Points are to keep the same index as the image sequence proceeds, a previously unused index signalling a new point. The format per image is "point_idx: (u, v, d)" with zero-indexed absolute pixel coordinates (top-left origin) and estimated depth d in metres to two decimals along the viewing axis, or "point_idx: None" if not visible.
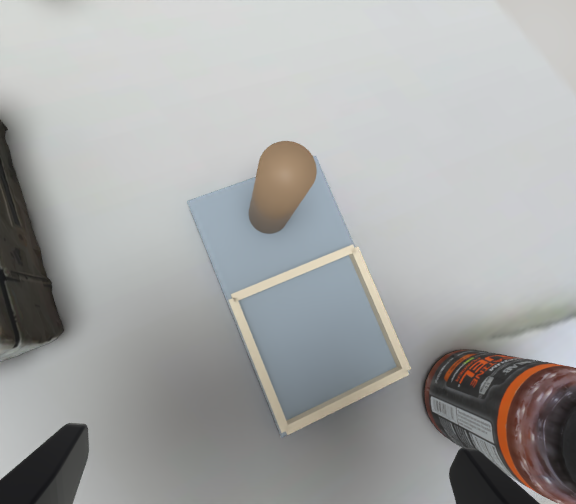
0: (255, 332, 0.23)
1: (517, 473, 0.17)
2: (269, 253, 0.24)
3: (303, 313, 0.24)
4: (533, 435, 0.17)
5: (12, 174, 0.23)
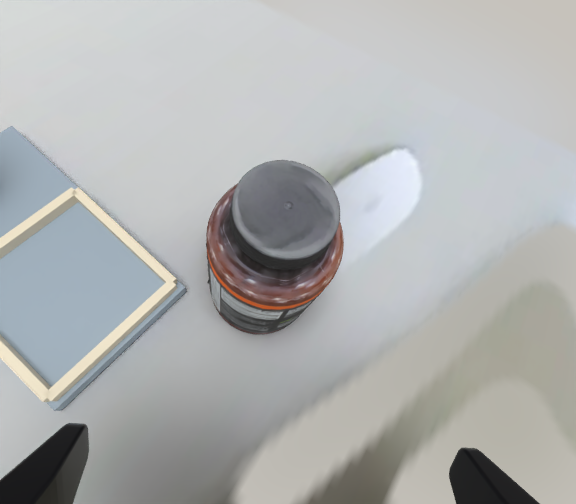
0: None
1: (240, 297, 0.16)
2: None
3: (42, 274, 0.22)
4: (221, 246, 0.15)
5: None
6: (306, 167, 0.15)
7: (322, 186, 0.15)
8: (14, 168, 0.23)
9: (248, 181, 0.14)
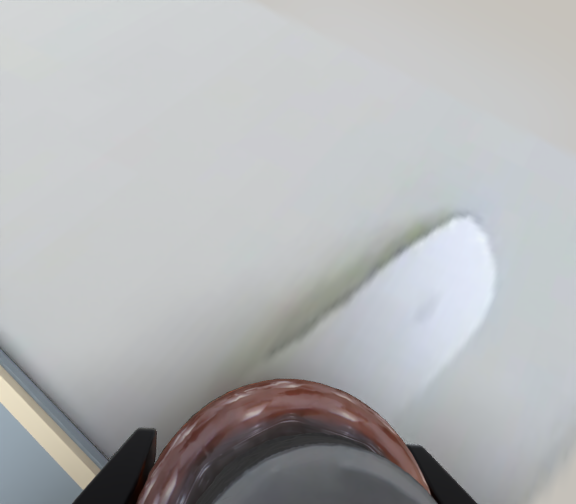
0: None
1: None
2: None
3: None
4: None
5: None
6: (379, 467, 0.05)
7: None
8: None
9: None
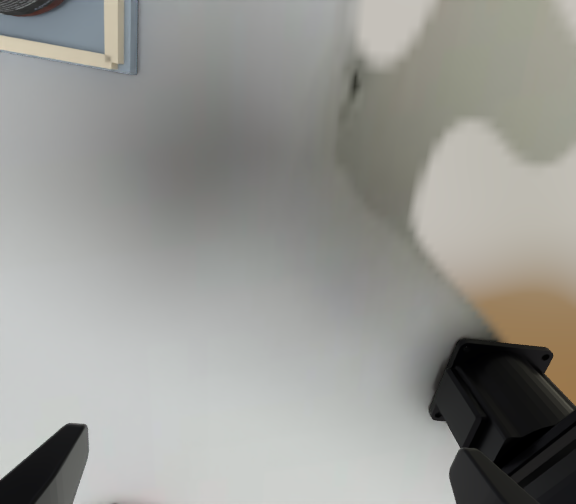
0: None
1: None
2: None
3: None
4: None
5: None
6: None
7: None
8: None
9: None
